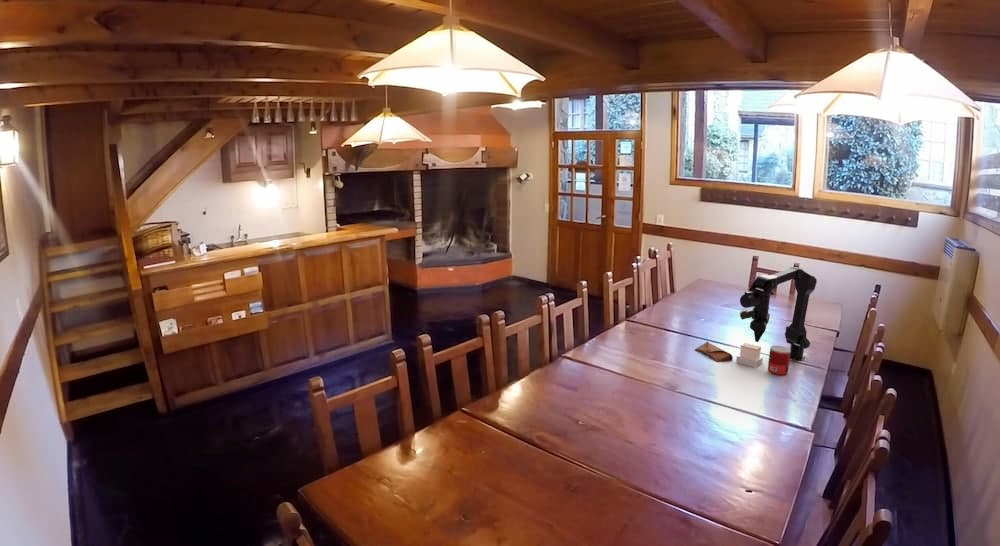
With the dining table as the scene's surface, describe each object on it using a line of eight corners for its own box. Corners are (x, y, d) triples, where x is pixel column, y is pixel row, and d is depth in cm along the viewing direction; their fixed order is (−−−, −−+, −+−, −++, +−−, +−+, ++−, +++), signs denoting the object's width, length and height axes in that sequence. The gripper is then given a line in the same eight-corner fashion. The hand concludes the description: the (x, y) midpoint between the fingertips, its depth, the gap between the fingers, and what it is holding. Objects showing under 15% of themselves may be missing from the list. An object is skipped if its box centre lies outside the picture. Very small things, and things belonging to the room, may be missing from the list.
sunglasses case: (692, 349, 284) (699, 336, 283) (702, 354, 287) (708, 342, 286) (717, 362, 267) (725, 350, 267) (727, 368, 270) (735, 355, 270)
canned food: (789, 376, 253) (792, 352, 251) (769, 375, 255) (772, 351, 252) (784, 369, 260) (788, 346, 258) (765, 368, 262) (768, 344, 259)
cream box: (744, 353, 271) (745, 342, 270) (759, 357, 266) (761, 346, 265) (739, 356, 268) (740, 345, 266) (755, 360, 263) (756, 349, 262)
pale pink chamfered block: (742, 358, 273) (742, 352, 273) (762, 363, 267) (762, 357, 266) (736, 362, 268) (736, 356, 268) (756, 367, 262) (756, 361, 262)
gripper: (745, 297, 269) (741, 329, 273) (739, 307, 254) (735, 342, 257) (771, 300, 264) (767, 333, 268) (767, 311, 248) (763, 346, 252)
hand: (757, 338), depth 262 cm, fingers open, 9 cm apart
